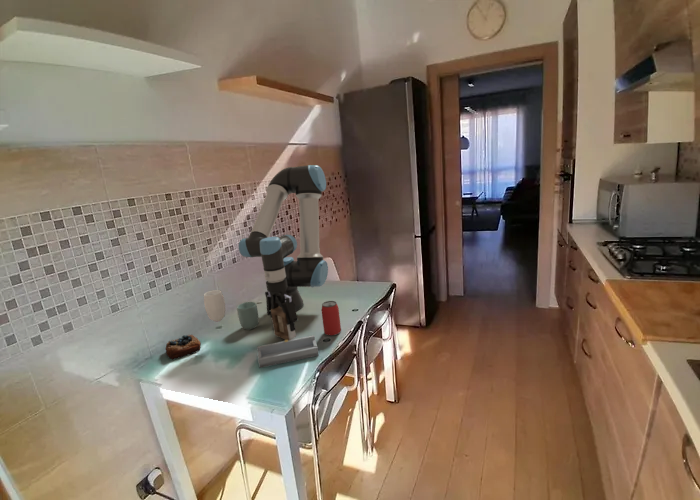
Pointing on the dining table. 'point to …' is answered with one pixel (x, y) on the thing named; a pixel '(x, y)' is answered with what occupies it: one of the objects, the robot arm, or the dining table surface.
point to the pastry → (182, 346)
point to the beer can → (331, 318)
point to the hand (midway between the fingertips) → (285, 335)
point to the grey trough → (287, 351)
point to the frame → (280, 323)
